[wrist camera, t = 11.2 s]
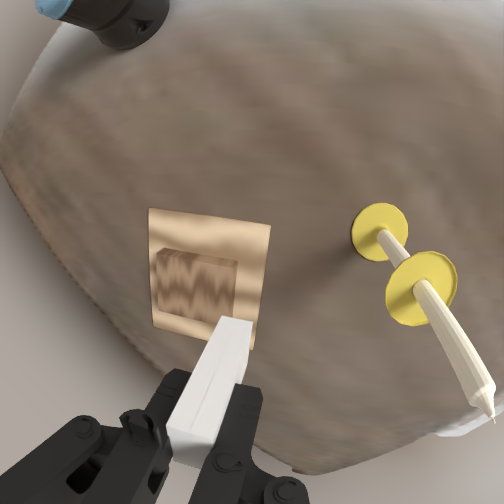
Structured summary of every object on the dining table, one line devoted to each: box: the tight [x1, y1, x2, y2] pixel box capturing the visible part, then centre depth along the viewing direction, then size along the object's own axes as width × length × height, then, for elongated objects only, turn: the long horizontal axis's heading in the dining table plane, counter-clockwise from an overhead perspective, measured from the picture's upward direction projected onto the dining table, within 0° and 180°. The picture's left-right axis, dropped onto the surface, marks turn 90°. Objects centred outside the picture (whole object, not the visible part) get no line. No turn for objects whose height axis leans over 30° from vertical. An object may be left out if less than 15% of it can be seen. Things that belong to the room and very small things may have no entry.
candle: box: [351, 203, 495, 424], centre depth 27 cm, size 10×10×38 cm
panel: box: [156, 248, 238, 325], centre depth 52 cm, size 12×3×14 cm
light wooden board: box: [149, 208, 271, 350], centre depth 53 cm, size 26×22×1 cm
